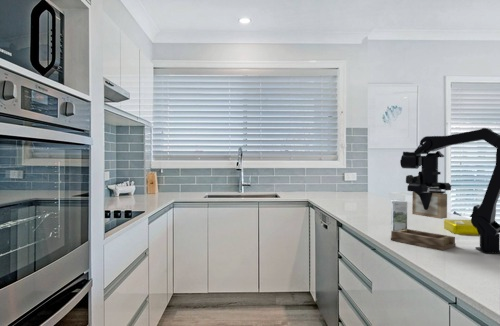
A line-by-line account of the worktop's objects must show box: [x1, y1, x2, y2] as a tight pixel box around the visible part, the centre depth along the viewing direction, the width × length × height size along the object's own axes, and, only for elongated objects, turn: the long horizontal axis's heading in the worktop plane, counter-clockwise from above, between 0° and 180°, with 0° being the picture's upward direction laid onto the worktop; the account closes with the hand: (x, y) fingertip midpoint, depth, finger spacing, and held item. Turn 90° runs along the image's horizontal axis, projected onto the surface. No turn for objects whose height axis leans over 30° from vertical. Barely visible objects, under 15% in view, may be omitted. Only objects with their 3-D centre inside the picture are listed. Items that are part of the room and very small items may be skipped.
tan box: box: [411, 191, 448, 220], centre depth 138 cm, size 12×4×9 cm, turn 29°
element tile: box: [443, 218, 480, 236], centre depth 158 cm, size 15×15×5 cm
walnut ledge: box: [390, 228, 457, 251], centre depth 136 cm, size 20×10×4 cm, turn 37°
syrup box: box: [390, 199, 408, 232], centre depth 153 cm, size 6×6×14 cm
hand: (429, 209), depth 137 cm, fingers closed on tan box, 4 cm apart
